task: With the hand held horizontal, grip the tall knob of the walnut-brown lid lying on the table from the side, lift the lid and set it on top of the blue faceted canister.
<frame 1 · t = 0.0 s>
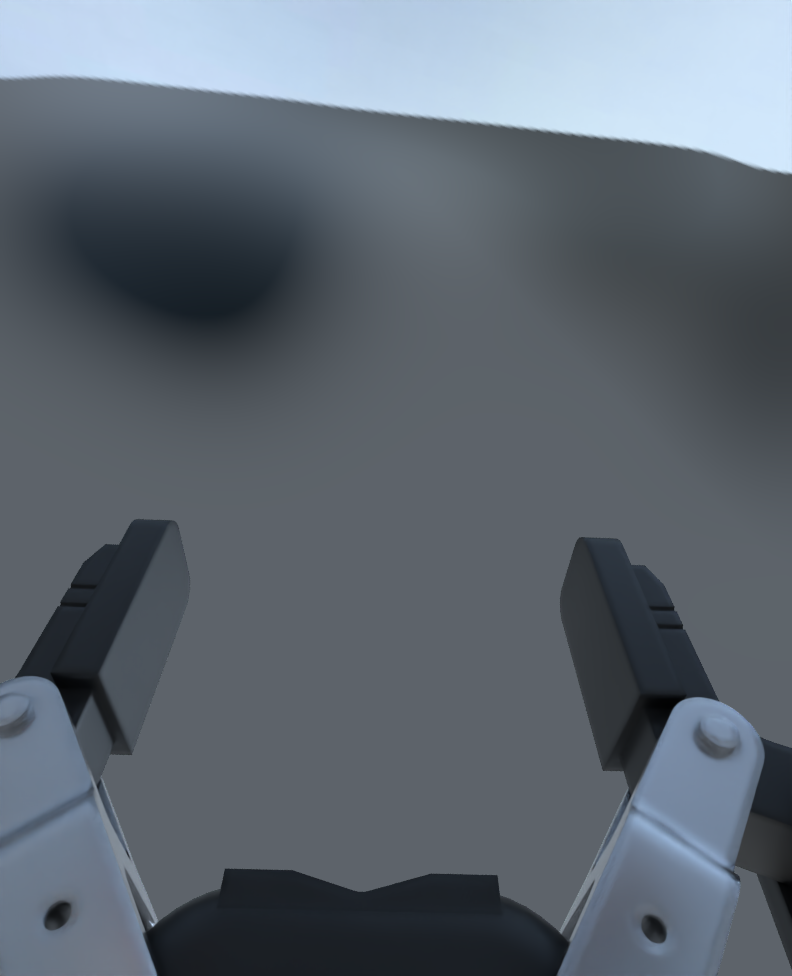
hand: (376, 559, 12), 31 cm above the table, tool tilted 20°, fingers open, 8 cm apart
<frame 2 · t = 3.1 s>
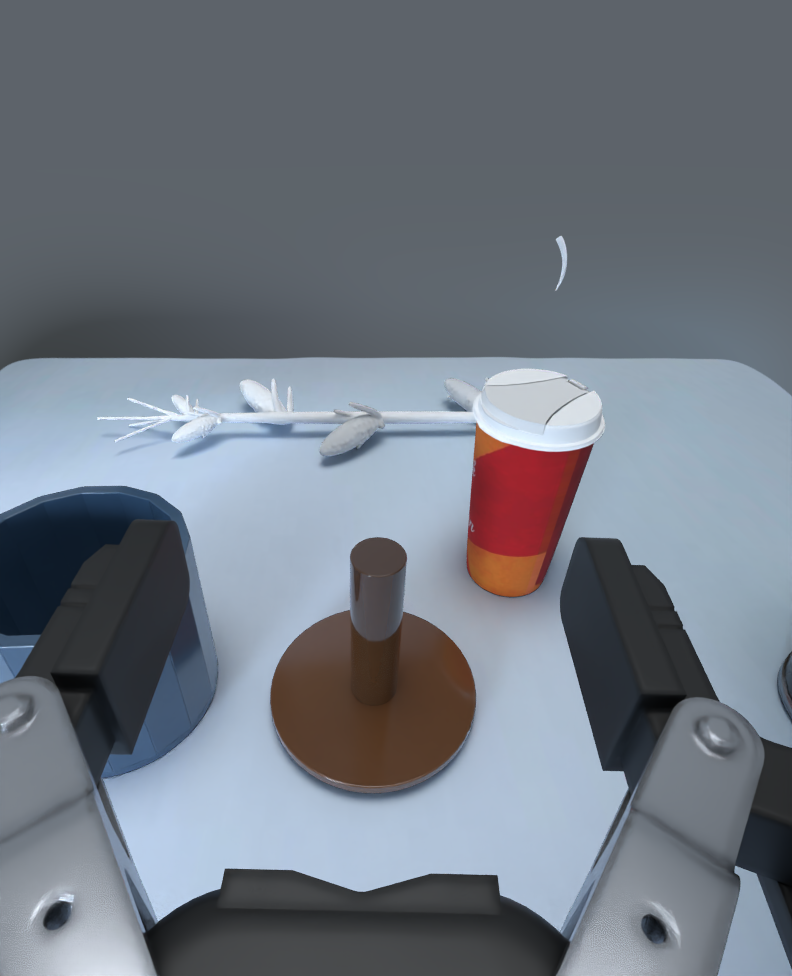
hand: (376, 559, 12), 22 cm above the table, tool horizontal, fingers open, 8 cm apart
dried plant stem: (326, 431, 57), on the table
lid: (373, 691, 34), point 1 cm above the table
blue faceted canister: (123, 688, 34), on the table
paper cup: (503, 570, 43), on the table
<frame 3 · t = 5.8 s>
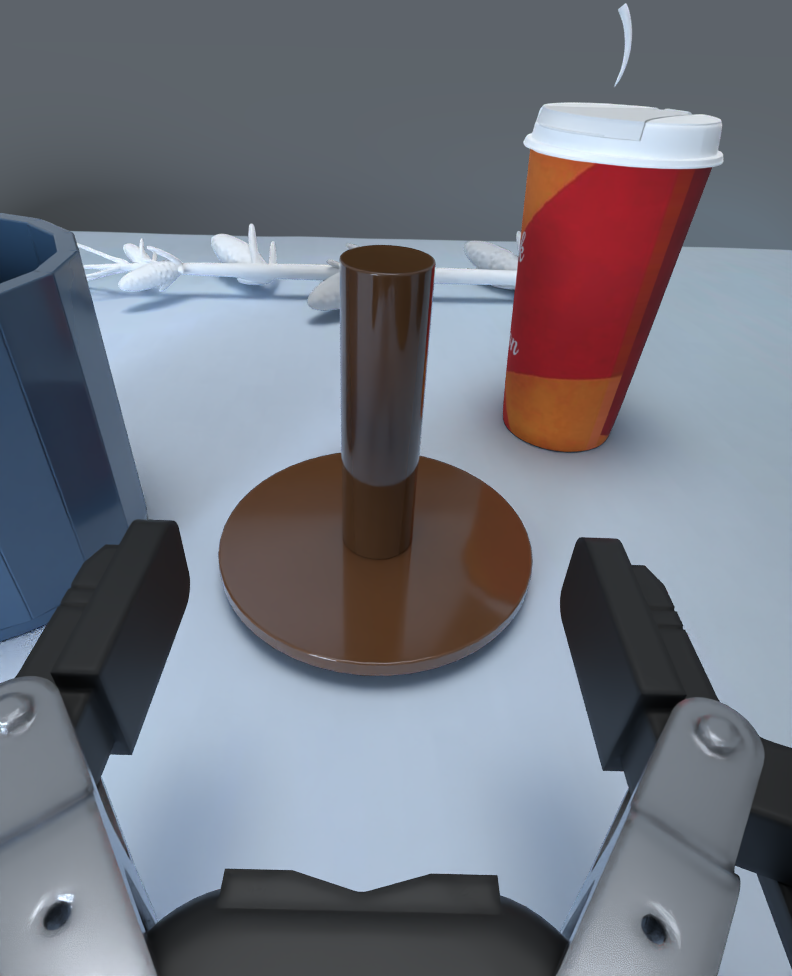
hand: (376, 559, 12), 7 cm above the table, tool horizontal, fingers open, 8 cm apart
dried plant stem: (318, 296, 46), on the table
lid: (376, 547, 23), point 1 cm above the table
blue faceted canister: (1, 541, 23), on the table
paper cup: (553, 426, 32), on the table
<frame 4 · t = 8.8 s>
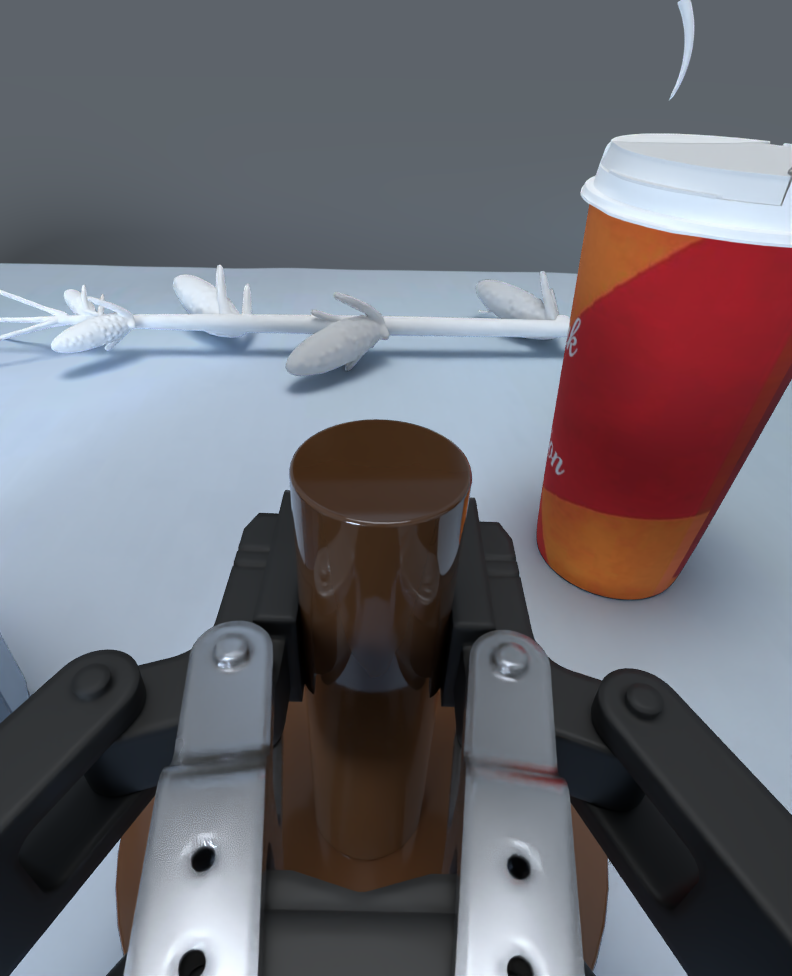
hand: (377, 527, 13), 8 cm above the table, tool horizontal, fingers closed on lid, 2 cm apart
dried plant stem: (301, 350, 38), on the table
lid: (367, 813, 15), point 1 cm above the table, touching gripper
paper cup: (603, 552, 24), on the table
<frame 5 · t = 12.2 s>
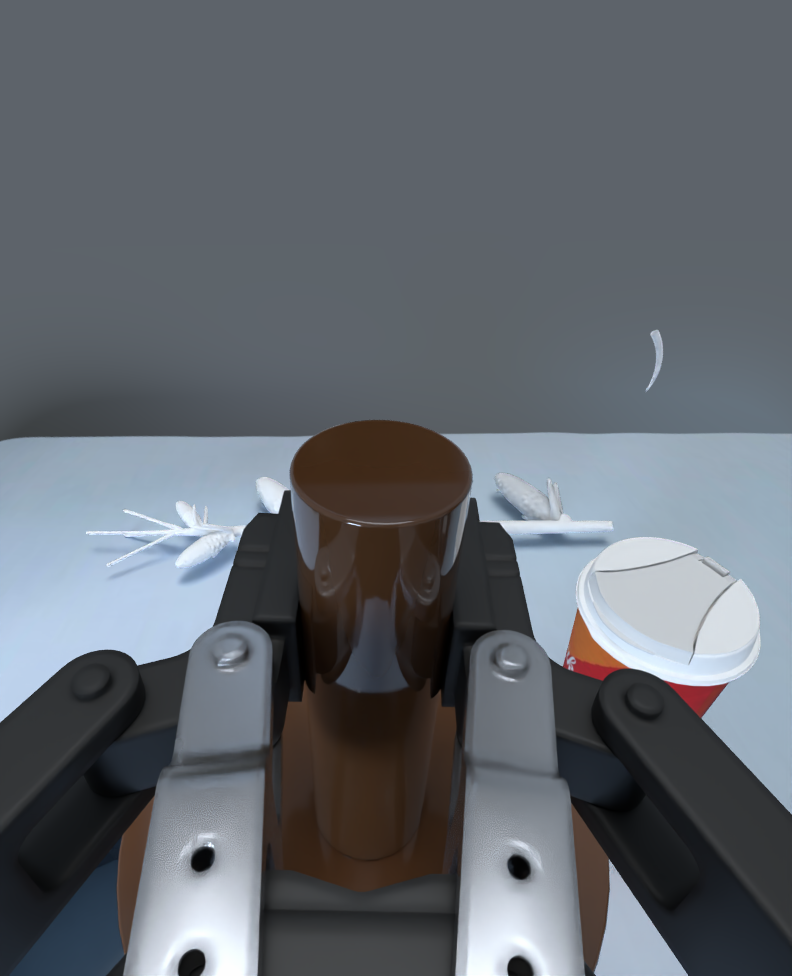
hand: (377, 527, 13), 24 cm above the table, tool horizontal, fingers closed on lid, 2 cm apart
dried plant stem: (358, 542, 48), on the table
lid: (368, 814, 15), point 17 cm above the table, touching gripper
paper cup: (592, 761, 34), on the table
when the fingers open (17 cm above the table, at t = 15.9 s): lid stays where it is, resting on blue faceted canister.
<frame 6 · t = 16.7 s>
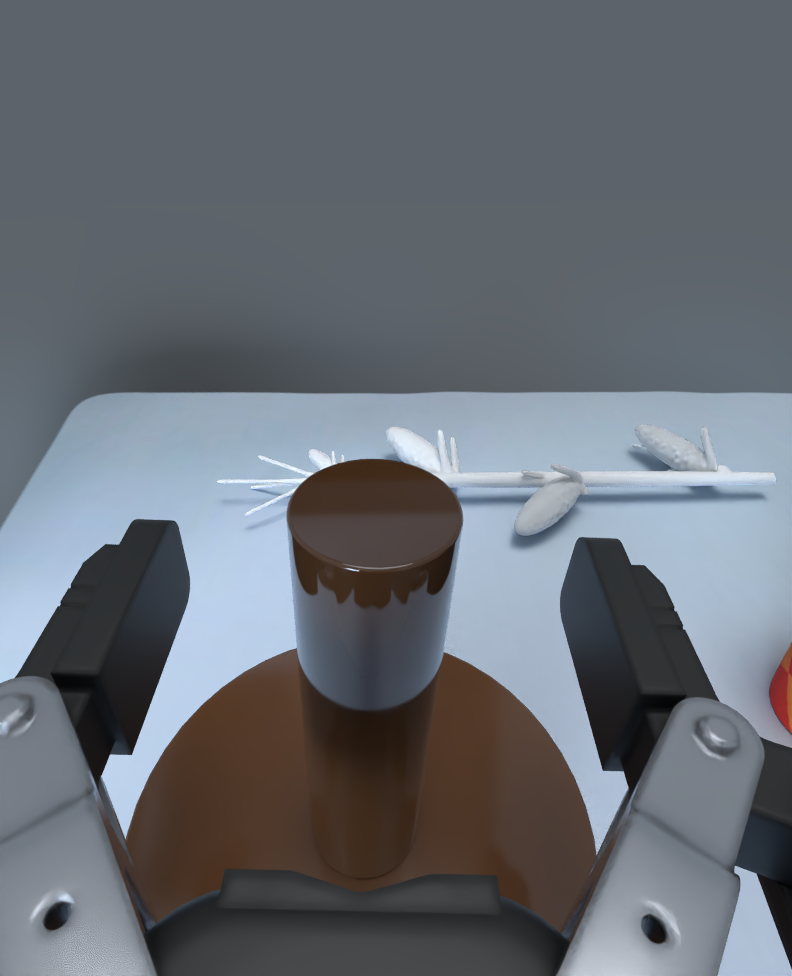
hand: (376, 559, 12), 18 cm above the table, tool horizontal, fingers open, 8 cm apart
dried plant stem: (500, 495, 44), on the table
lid: (364, 831, 15), point 10 cm above the table, touching blue faceted canister
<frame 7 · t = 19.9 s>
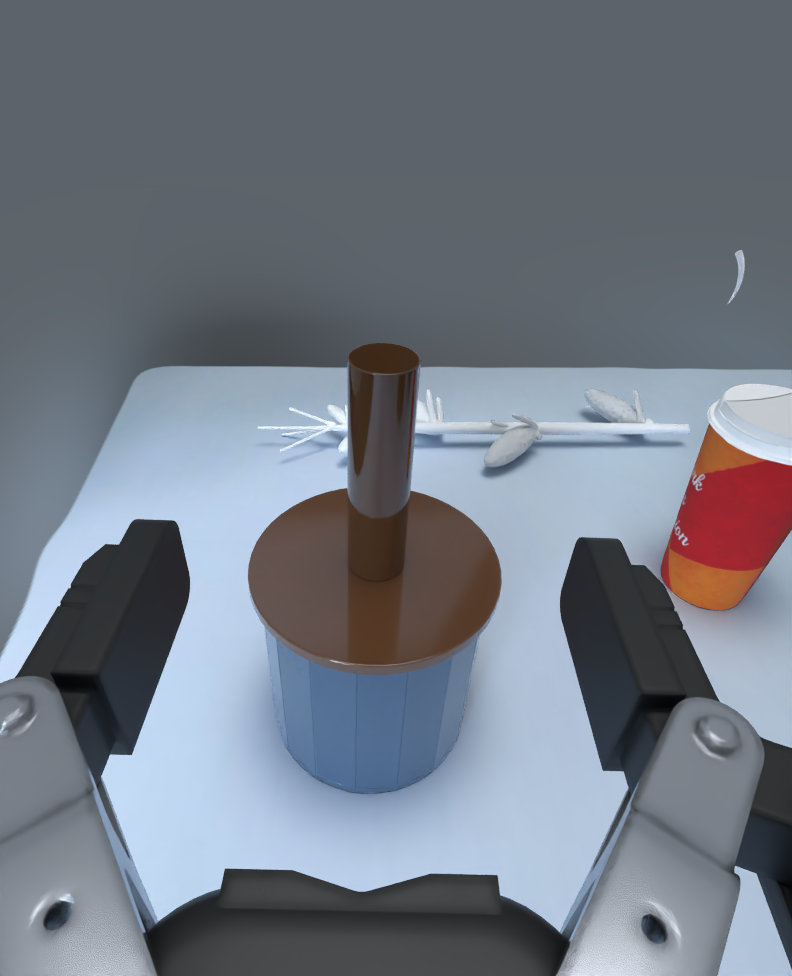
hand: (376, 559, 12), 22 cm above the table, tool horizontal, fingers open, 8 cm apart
dried plant stem: (476, 442, 57), on the table
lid: (375, 570, 28), point 10 cm above the table, touching blue faceted canister
blue faceted canister: (370, 701, 34), on the table
paper cup: (699, 583, 43), on the table
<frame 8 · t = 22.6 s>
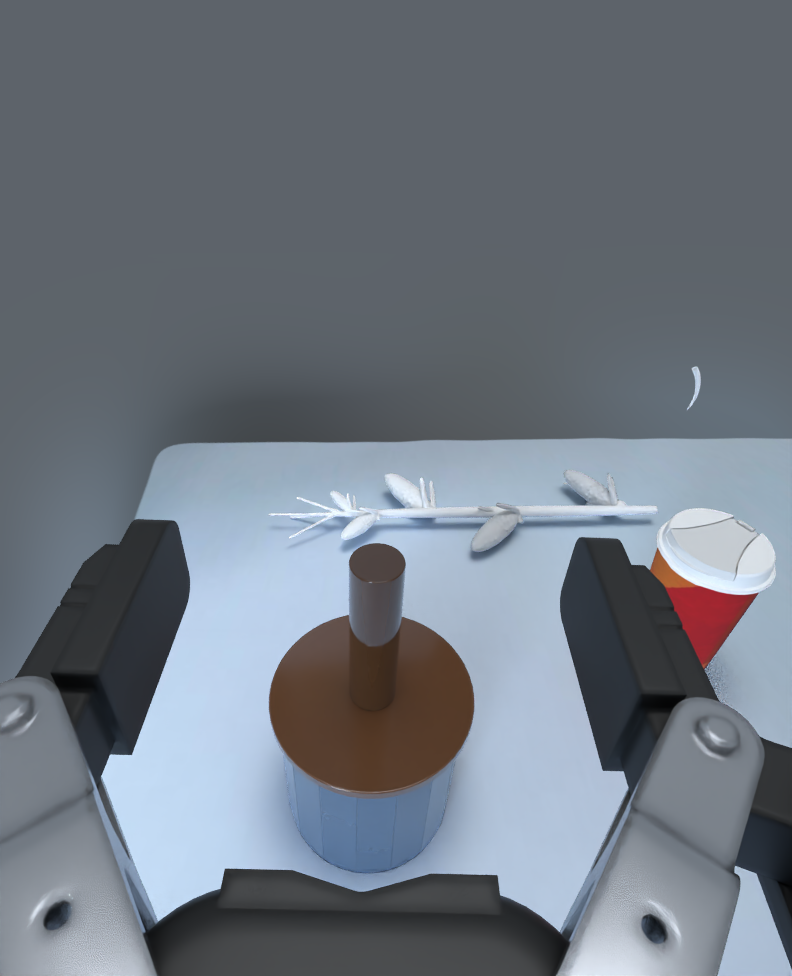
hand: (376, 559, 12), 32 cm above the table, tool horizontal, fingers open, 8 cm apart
dried plant stem: (464, 522, 63), on the table
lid: (372, 697, 34), point 10 cm above the table, touching blue faceted canister
blue faceted canister: (369, 787, 41), on the table
paper cup: (656, 667, 50), on the table
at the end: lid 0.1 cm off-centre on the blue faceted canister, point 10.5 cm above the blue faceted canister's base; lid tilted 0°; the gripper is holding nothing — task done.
